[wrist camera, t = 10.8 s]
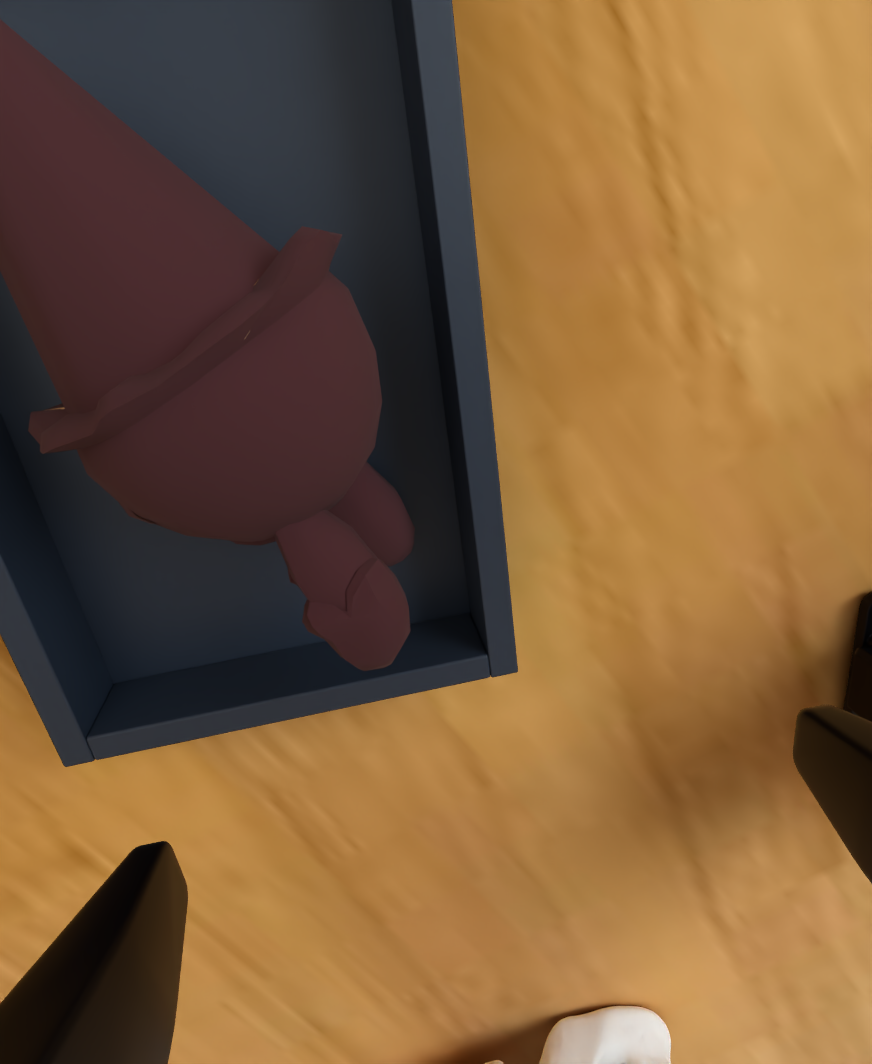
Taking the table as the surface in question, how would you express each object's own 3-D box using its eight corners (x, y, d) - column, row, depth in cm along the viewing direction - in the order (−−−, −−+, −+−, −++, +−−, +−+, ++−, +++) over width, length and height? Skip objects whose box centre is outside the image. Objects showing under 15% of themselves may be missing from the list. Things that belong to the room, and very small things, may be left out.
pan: (401, -189, 13) (421, -316, 10) (492, 618, 21) (518, 672, 18) (-255, -137, 12) (-438, -264, 9) (101, 696, 20) (63, 768, 17)
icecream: (-565, 65, 7) (252, 761, 15) (-212, -492, 5) (544, 649, 12) (-122, 81, 13) (308, 575, 20) (134, -181, 11) (514, 476, 18)
